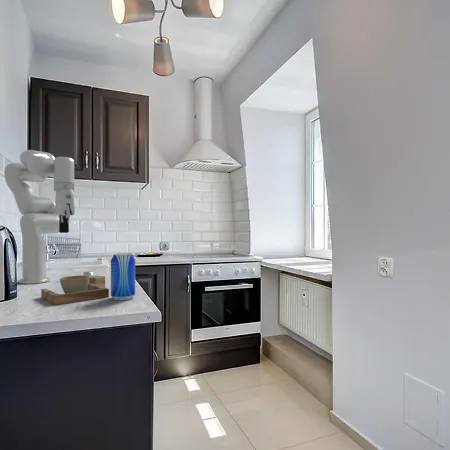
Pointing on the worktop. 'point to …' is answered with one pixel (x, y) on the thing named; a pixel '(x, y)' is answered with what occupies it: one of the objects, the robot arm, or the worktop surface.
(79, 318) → the worktop surface
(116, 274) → the beer can
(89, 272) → the grey metal cylinder
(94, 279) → the walnut block
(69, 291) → the flower pot
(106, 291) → the bay
